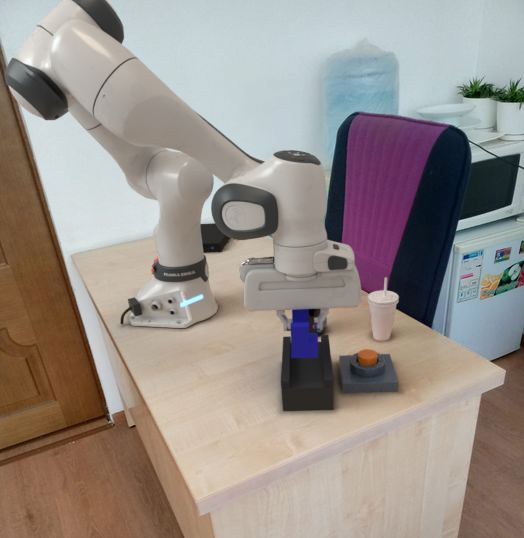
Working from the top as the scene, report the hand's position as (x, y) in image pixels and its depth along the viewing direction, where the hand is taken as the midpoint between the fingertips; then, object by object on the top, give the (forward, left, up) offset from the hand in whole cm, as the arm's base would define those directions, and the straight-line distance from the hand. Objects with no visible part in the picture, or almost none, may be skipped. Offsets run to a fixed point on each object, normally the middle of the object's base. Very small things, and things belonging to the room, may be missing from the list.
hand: (303, 329), depth 90 cm
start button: (+12, +2, -9) cm, 15 cm away
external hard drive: (-33, +92, -12) cm, 99 cm away
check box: (+12, +2, -12) cm, 17 cm away
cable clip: (0, 0, -2) cm, 2 cm away
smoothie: (+17, +18, -12) cm, 28 cm away
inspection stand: (0, 0, -12) cm, 12 cm away
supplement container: (+2, +22, -12) cm, 26 cm away
